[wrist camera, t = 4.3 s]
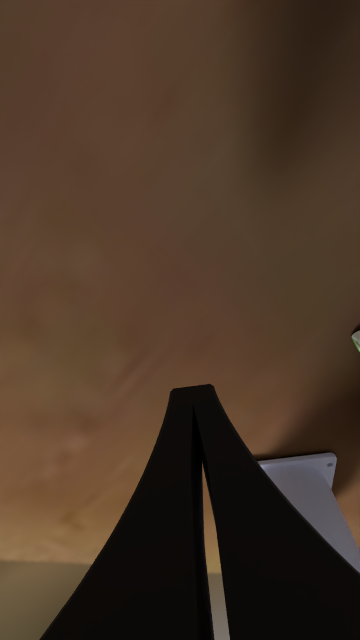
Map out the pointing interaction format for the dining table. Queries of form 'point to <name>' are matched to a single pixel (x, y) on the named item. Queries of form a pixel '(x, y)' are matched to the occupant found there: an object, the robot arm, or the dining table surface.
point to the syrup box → (356, 339)
